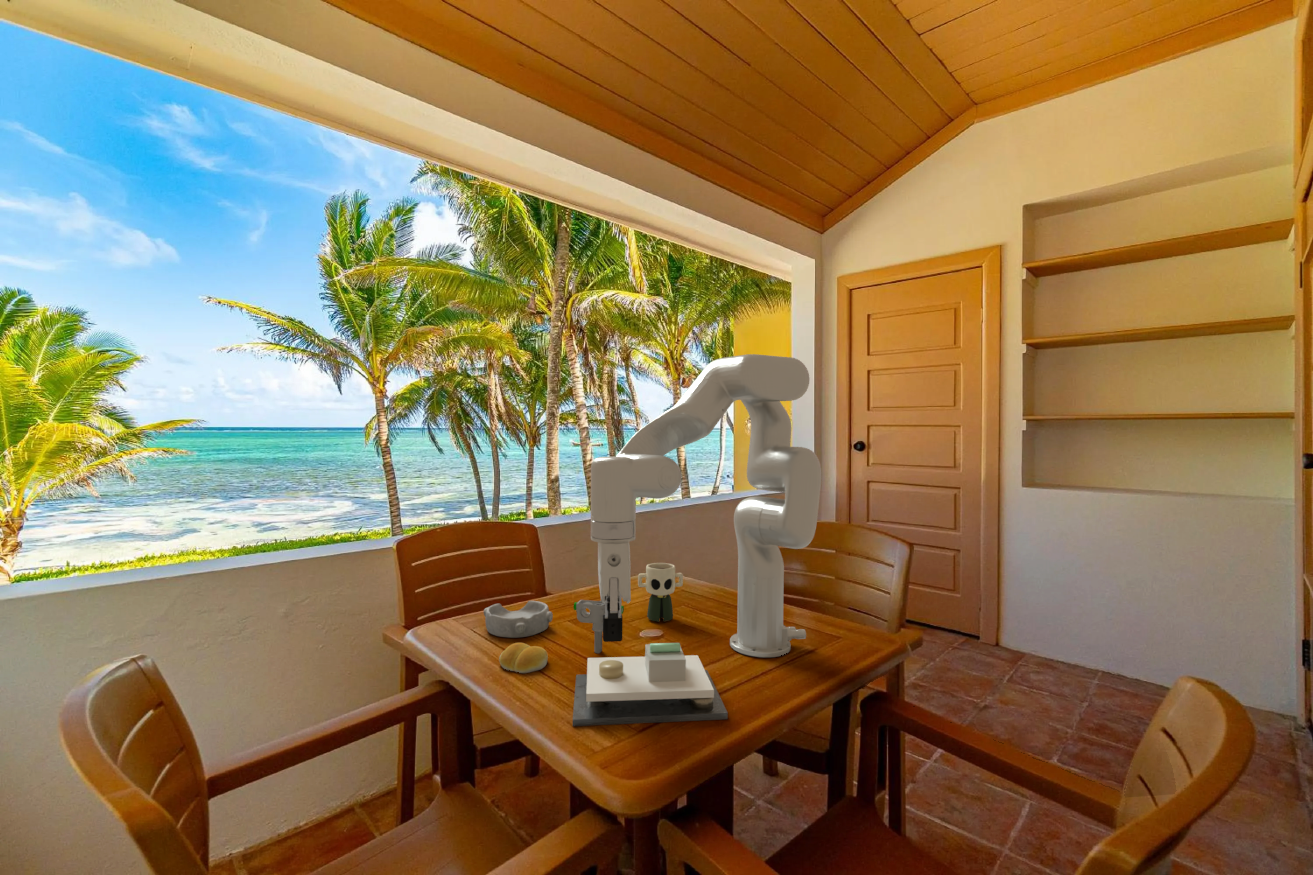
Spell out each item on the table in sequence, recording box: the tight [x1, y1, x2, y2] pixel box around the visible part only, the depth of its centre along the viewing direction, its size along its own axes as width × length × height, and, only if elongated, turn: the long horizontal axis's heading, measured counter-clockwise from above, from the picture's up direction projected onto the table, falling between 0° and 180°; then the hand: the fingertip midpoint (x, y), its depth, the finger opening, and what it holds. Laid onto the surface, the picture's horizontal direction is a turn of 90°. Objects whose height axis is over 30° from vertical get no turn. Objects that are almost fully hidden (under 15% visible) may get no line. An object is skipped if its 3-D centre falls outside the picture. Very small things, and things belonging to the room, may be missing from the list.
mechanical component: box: [573, 599, 625, 654], centre depth 113 cm, size 3×10×10 cm, turn 78°
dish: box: [483, 600, 554, 639], centre depth 126 cm, size 14×14×5 cm
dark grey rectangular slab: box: [572, 669, 729, 727], centre depth 93 cm, size 24×16×3 cm, turn 96°
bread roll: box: [498, 642, 549, 674], centre depth 107 cm, size 8×9×4 cm
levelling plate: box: [586, 642, 714, 702], centre depth 93 cm, size 20×14×6 cm
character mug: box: [637, 562, 684, 622], centre depth 134 cm, size 11×7×13 cm, turn 96°
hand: (612, 639), depth 93 cm, fingers closed
